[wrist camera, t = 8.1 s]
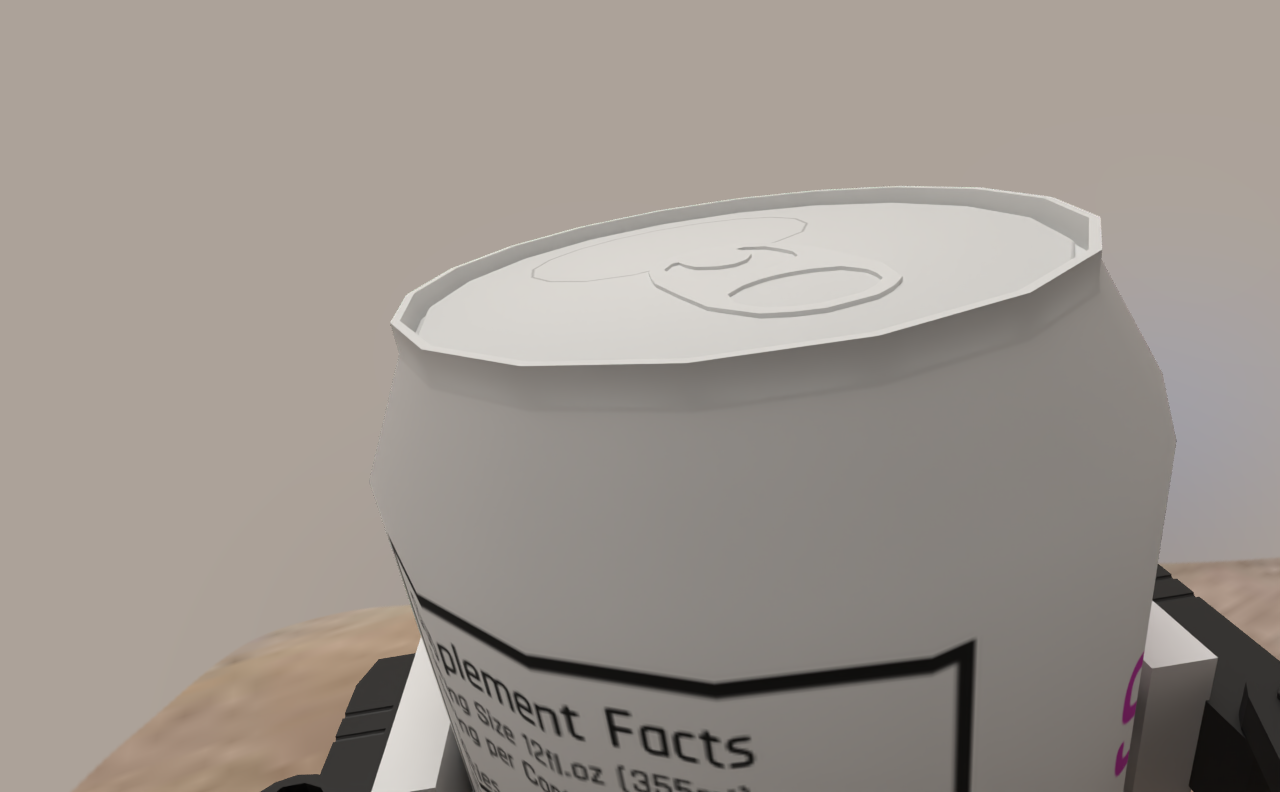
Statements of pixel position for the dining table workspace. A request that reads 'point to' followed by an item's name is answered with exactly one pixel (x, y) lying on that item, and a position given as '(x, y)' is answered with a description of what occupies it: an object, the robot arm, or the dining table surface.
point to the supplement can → (783, 498)
